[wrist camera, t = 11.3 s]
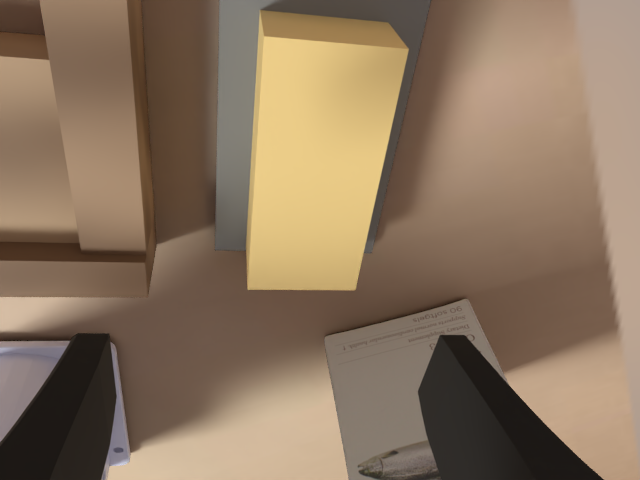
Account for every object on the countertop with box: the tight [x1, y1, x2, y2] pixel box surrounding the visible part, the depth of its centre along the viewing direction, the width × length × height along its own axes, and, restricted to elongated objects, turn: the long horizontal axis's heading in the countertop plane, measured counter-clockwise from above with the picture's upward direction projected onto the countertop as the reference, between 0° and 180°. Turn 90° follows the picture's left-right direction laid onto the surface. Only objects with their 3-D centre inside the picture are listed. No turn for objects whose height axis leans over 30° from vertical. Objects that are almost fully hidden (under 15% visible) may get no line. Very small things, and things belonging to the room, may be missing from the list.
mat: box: [215, 0, 431, 253], centre depth 19 cm, size 11×6×1 cm, turn 173°
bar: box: [246, 10, 409, 290], centre depth 18 cm, size 9×4×2 cm, turn 173°
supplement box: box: [324, 299, 509, 480], centre depth 23 cm, size 7×7×13 cm
